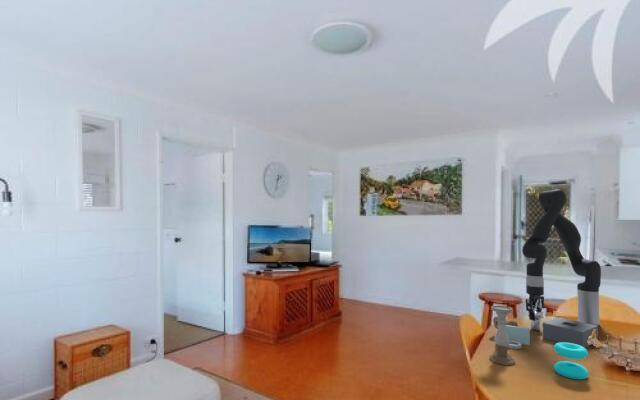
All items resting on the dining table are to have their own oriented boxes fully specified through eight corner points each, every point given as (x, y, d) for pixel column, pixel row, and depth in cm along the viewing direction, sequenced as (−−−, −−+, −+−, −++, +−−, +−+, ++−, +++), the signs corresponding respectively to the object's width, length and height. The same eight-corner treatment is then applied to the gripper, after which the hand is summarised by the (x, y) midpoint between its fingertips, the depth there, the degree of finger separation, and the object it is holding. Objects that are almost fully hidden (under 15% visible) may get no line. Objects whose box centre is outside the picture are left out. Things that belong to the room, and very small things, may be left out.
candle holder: (512, 367, 135) (512, 312, 136) (487, 361, 141) (486, 308, 141) (516, 360, 142) (516, 307, 143) (492, 354, 148) (492, 303, 148)
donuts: (586, 353, 123) (552, 346, 130) (587, 383, 123) (552, 375, 129) (588, 345, 131) (555, 339, 138) (589, 373, 131) (556, 366, 137)
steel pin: (532, 326, 185) (531, 309, 186) (545, 329, 180) (545, 312, 180) (525, 328, 182) (525, 311, 182) (539, 331, 176) (539, 314, 177)
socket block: (558, 332, 178) (558, 317, 178) (597, 341, 165) (597, 325, 165) (542, 338, 169) (542, 322, 169) (583, 348, 155) (582, 332, 156)
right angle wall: (498, 349, 155) (498, 331, 155) (499, 341, 166) (498, 324, 166) (531, 354, 150) (531, 336, 150) (529, 345, 160) (529, 328, 161)
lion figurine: (498, 338, 168) (498, 318, 168) (490, 334, 173) (489, 315, 173) (523, 335, 173) (523, 315, 173) (514, 331, 178) (514, 312, 178)
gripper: (533, 282, 189) (534, 314, 188) (519, 284, 181) (520, 319, 180) (549, 284, 183) (550, 318, 182) (535, 287, 175) (536, 323, 174)
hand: (535, 318), depth 181 cm, fingers closed on steel pin, 6 cm apart
